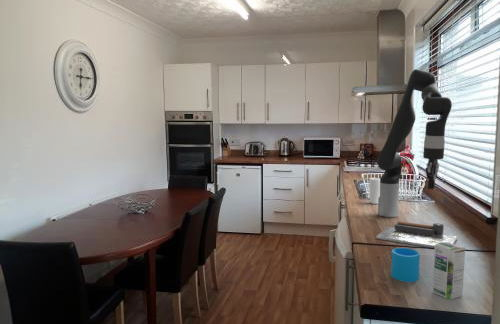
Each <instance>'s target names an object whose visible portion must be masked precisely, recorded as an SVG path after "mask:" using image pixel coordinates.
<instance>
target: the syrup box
mask: <svg viewBox="0 0 500 324" xmlns="http://www.w3.org/2000/svg"><path fill="white" fill-rule="evenodd" d="M465 254H466V247H465V246H460V245H457V244H455V243H454V244H452V243H449V242H442V243H438V244H435V248H434V255H433V256H434V259H433V277H432V279H433V280H432V282H433V283H432V294H436V295H438V296H441V297H442V298H444V299H446V300H449V301H451V300H454V299H457V298H460V297H462V296H463V293H464V291H463V289H464V278H465V277H464V272H465V257H466V255H465Z"/></svg>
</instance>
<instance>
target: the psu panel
mask: <svg viewBox="0 0 500 324" xmlns="http://www.w3.org/2000/svg"><path fill="white" fill-rule="evenodd" d="M375 237H376V238H375V239H377V240H383V241H389V242H395V243H402V244H407V245H414V246H418V247H419V246H420V247H425V248H430V249H435V244H438V243H442V242H449V243H452V244H455V243H456V242H457V240H458V235H457V236H455V235H449V234H444V233H443V235H429V234H423V233H416V232H409V231H402V230H395V226H387V227H386V228H385V229H383V230H382V231H381V232H380V233H378V234H377V235H376V236H375Z"/></svg>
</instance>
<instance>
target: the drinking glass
mask: <svg viewBox="0 0 500 324" xmlns="http://www.w3.org/2000/svg"><path fill="white" fill-rule="evenodd" d="M380 178H381V177H380ZM380 178H379V177H370V178H369V182H368V184H369V185H368V186H369V199H370V201H369V203H370V204H372V205H378V198H379V197H380Z"/></svg>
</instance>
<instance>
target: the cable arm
mask: <svg viewBox="0 0 500 324" xmlns="http://www.w3.org/2000/svg"><path fill="white" fill-rule="evenodd" d="M394 227H395V230H402V231H409V232H416V233H423V234H429V235H443V234H444V227H445V226H444V224H442V223H439V222H438V223H437V222H436V223H435V222H434V223H433V224H432V225H431V224H424V223H416V222H409V221H408V222H407V221H401V220H399V221H398V220H397V222H396V223H395V224H394Z"/></svg>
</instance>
